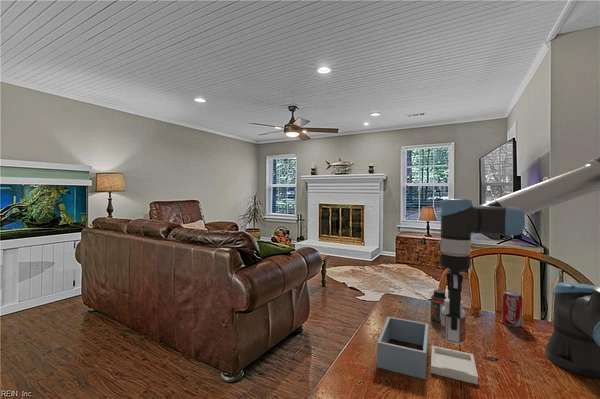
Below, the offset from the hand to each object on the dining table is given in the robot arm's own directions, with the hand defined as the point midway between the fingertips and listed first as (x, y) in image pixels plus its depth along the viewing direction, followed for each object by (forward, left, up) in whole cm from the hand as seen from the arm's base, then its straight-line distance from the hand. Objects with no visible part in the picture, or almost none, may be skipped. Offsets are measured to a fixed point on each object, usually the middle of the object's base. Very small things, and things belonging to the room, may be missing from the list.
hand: (452, 334), depth 83 cm
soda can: (-22, -42, -9) cm, 48 cm away
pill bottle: (0, 0, -2) cm, 2 cm away
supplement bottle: (+3, -34, -9) cm, 35 cm away
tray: (0, 0, -9) cm, 9 cm away
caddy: (+13, 0, -9) cm, 16 cm away
